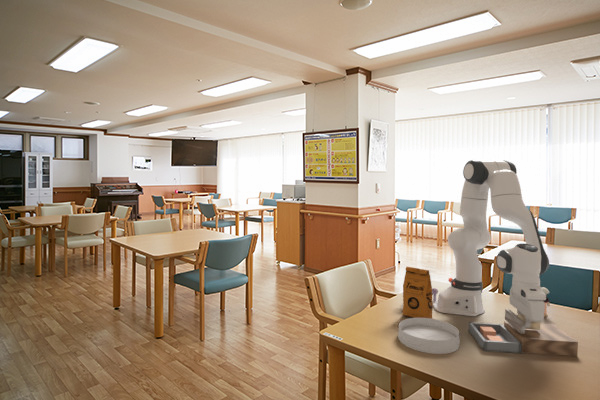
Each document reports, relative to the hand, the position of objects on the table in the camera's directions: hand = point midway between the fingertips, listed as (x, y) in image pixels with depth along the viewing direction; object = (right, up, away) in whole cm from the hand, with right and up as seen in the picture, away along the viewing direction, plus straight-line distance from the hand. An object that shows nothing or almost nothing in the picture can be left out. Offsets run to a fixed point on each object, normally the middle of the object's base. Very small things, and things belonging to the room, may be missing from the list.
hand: (524, 324), depth 138 cm
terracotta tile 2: (-11, -4, +6) cm, 13 cm away
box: (-11, -7, +2) cm, 13 cm away
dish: (-35, -7, +3) cm, 36 cm away
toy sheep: (-25, -5, +44) cm, 51 cm away
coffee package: (-31, -6, +26) cm, 41 cm away
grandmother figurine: (+27, -6, +30) cm, 40 cm away
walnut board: (+5, -7, 0) cm, 9 cm away
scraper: (0, -1, 0) cm, 1 cm away
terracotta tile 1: (-12, -4, -3) cm, 13 cm away
